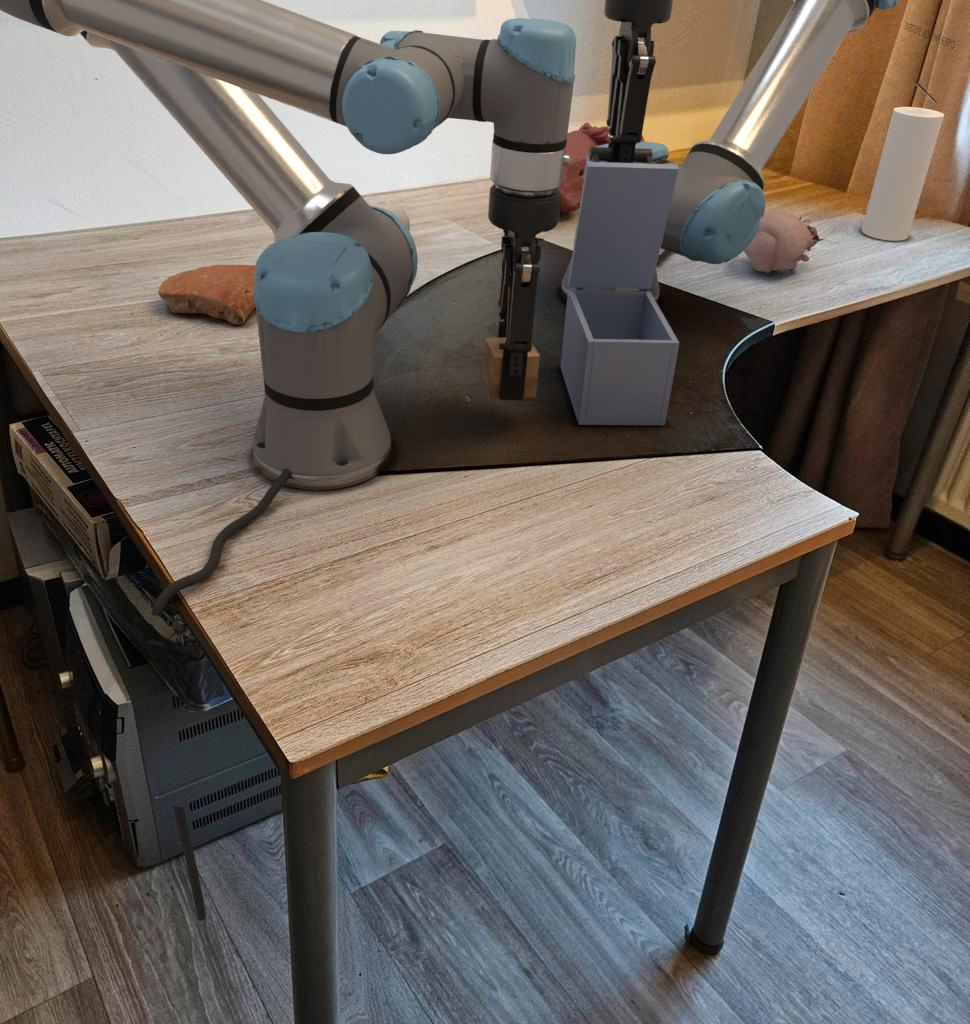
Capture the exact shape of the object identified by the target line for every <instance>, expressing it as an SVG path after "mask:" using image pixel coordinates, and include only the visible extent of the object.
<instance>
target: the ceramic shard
mask: <svg viewBox="0 0 970 1024" xmlns="http://www.w3.org/2000/svg"><path fill="white" fill-rule="evenodd" d="M255 265H256V264H255ZM255 265H254V264H212V265H209V266H208V265H207V266H201V267H197V268H195V269H189V270H185V271H182V272H179V273H176V274H173V275H170V276H168V277H167V278H166V279H165V280H164V281H163V282H162V283H160V286H159V288H158V290H157V294H158V295H159V297H160V298H161V299H162V300H163V301H164V302H166V304H167V307H168V308H169V309H170V311H171V312H172V313H174V314H204V315H205V314H206V315H208V316H210V317H212V318H216V319H222V320H224V321H227V322H229V323H231V324H234V325H243V324H244V323H245V321H246V320H247V318H248V317H249V316H250V315H251V313H252V312H253V311H254V310H255V309H256V306H255V301H254V294H253V290H254V285H255V284H254V282H255V276H254V271H255Z"/></svg>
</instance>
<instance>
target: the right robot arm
mask: <svg viewBox="0 0 970 1024" xmlns="http://www.w3.org/2000/svg"><path fill="white" fill-rule="evenodd" d="M792 1H793V4H792V6H791V7H790V9H789V10H788V12H787V13H786V15H785V17H784V18H783V20H782V21H781V23H780V24H779V27H778V28H777V30H776V31H775V33H774V35H773V36H772V38H771V40H770V41H769V43H768V44H767V46H766V47H765V49H764V51H763V53H762V54H761V56H760V57H759V59H758V61H757V62H756V63H755V65H754V67H753V68H752V70H751V71H750V74H749V75H748V77H747V79H745V81H744V83H743V85H742V86H741V88H740V90H739V91H738V93H737V95H736V96H735V98H734V100H733V101H732V103H731V104H730V105H729V108H728V109H727V110H726V112H725V114H724V115H723V117H722V119H721V120H720V122H719V124H718V125H717V127H716V128H715V130H714V132H713V133H712V135H711V136H710V139H709V140H703V141H699V142H696V143H695V144H693V146H692V147H691V148H690V150H689V151H688V153H687V155H686V156H685V157H684V159H683V161H682V163H680V162H675V161H670V160H668V158H669V157H670V154H669V148H668V146H667V145H665V144H664V143H660V142H653V141H645V142H641V139H642V136H643V130H644V124H645V123H644V122H645V119H646V118H645V117H646V111H647V105H648V99H649V93H650V88H651V81H652V76H653V73H654V70H655V65H656V64H657V59H656V55H654V52H655V51H654V50H655V41H654V40H652V26H653V25H654V24H659V25H660V24H664V23H667V22H669V21H670V19H671V16H672V10H673V2H674V0H604V9H603V13H604V16H605V18H606V19H608V20H611V21H615V22H620V26H619V31H618V35H615V36H614V38H613V39H612V41H611V47H612V48H611V68H610V80H609V81H610V82H609V94H608V108H607V118H606V127H609V135H608V136H610V137H609V143H608V144H604V145H600V146H597V147H606V148H612V150H611V159H610V161H600V162H612V163H644V164H646V163H645V162H633V161H634V154H635V148H637V149H652V160H653V163H654V164H677V166H678V168H679V170H678V175H677V179H676V183H675V188H674V192H673V196H672V201H671V205H670V209H669V214H668V218H667V222H666V227H665V231H664V235H663V240H662V244H661V248H660V250H661V249H662V250H663V251H662V252H661V253H659V257H658V261H657V265H658V264H659V263H660V262H662V261H663V260H664V259H665V258H666V257H667V256H669V254H670V253H674V254H676V255H679V256H681V257H684V258H686V259H689V260H690V261H692V262H702V263H705V264H711V265H722V264H723V263H728V262H730V261H732V260H734V259H736V258H738V256H740V255H741V254H742V253H743V252H744V250H745V249H746V248H747V246H748V245H749V244H750V243H751V241H752V240H753V238H754V237H755V235H756V233H757V231H758V229H759V227H760V225H761V222H760V219H761V218H762V217H763V216H764V214H765V213H766V212H765V211H766V196H765V193H764V189H765V185H766V184H765V179H764V176H763V170H764V169H765V167H766V166H767V164H768V163H769V161H770V160H771V157H773V154H774V152H775V151H776V150H777V148H778V146H779V144H780V143H781V141H782V139H783V138H784V136H785V135H786V134H787V132H788V130H789V128H790V126H791V125H792V123H793V122H794V120H795V118H796V117H797V116H798V114H799V112H800V110H801V109H802V107H803V105H805V102H806V101H807V99H808V97H809V96H810V94H811V93H812V91H813V89H814V88H815V86H816V85H817V83H818V81H819V80H820V78H821V76H822V75H823V73H824V71H825V70H826V68H827V67H828V65H829V64H830V61H831V60H832V59H833V57H834V55H835V53H836V52H837V50H838V49H839V47H840V45H841V44H842V42H843V41H844V39H845V37H846V36H847V35H849V34H852V33H856V32H858V31H860V30H862V29H863V28H864V27H865V25H866V24H867V22H868V20H869V19H870V18H871V16H872V14H873V13H874V11H875V10H876V9H877V10H878V9H879V10H880V11H886V10H890V9H894V8H895V7H896V6H897V5H898V4H899V3H900V1H901V0H792ZM587 162H592V161H590V160H589V154H588V156H587V161H586V163H587ZM585 169H586V167H585ZM584 176H585V173H584V175H583V182H584ZM571 261H572V258H571V259H570V262H569V264H568V266H567V269H566V270H565V273H564V275H563V278H562V280H561V289H560V294H561V298H563V300H564V301H565V302H567V296H568V290H614V291H650V292H651V294H652V296H653V298H654V299H655V301H656V303H657V304H659V297H660V284H659V278H658V272H657V269H656V270H655V274H654V279H653V283H652V287H651V289H637V288H585V287H569V284H568V281H569V274H570V267H571Z"/></svg>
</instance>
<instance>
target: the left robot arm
mask: <svg viewBox="0 0 970 1024" xmlns="http://www.w3.org/2000/svg"><path fill="white" fill-rule="evenodd" d="M0 11H1V12H3V13H5V14H7V15H10V16H12V17H13V18H16V19H19V20H20V21H23V22H26V23H28V24H31V25H34V26H37V27H40V28H43V29H46V30H48V31H51V32H54V33H57V34H59V35H61V36H66V37H74V36H77V35H79V34H80V35H81V36H82V37H83V39H84V40H85V41H86V42H87V43H88V45H90V46H91V47H93V48H98V49H106V50H107V49H108V50H112V51H114V52H115V53H116V54H117V56H118V57H119V58H121V60H122V61H123V62H124V64H126V66H127V67H128V68H129V69H130V70H131V71H132V73H133V74H134V75H135V76H136V77H137V78H138V79H139V81H140V82H142V84H143V85H144V86H145V87H146V89H147V90H148V91H149V92H151V94H152V95H153V96H154V97H155V99H156V100H157V101H158V102H159V104H160V105H162V107H163V108H164V109H165V110H166V111H167V112H168V113H169V115H170V116H171V117H172V118H173V119H174V120H175V122H177V124H178V125H179V126H180V127H181V128H182V129H183V131H185V133H186V134H187V135H188V136H189V137H190V138H191V140H192V141H193V142H194V143H195V144H196V145H197V147H199V149H200V150H201V151H202V152H203V153H204V154H205V156H206V157H207V158H208V159H209V160H210V162H212V164H213V165H214V167H216V168H217V169H218V170H219V172H220V173H221V174H222V175H223V176H224V177H225V178H226V179H227V181H228V182H229V183H230V184H231V185H232V186H233V187H234V189H235V190H236V191H237V192H238V193H239V195H241V196H242V198H243V200H245V201H246V202H247V203H248V205H249V206H250V207H251V208H252V209H253V210H254V211H255V213H256V214H257V215H258V216H259V217H260V218H261V220H262V221H263V222H264V223H265V224H266V225H267V226H268V228H269V229H270V230H271V231H272V233H273V236H274V242H273V243H271V244H270V245H269V246H267V247H266V248H265V249H264V250H263V251H262V252H261V253H260V255H259V256H258V258H257V260H256V261H255V271H254V276H255V282H254V284H255V285H254V290H253V294H254V301H255V306H256V307H255V310H256V311H255V312H256V320H257V330H258V340H259V349H260V359H261V369H262V379H263V388H264V390H263V391H264V396H263V400H262V404H261V408H260V412H259V415H258V419H257V423H256V427H255V430H254V434H253V439H252V455H253V460H254V464H255V467H256V468H257V470H258V471H259V472H260V473H261V474H262V475H263V476H265V477H266V478H268V479H269V480H271V481H273V483H272V485H271V486H270V487H269V488H268V489H267V491H266V492H265V494H264V495H263V497H262V498H261V500H259V502H258V503H257V504H256V506H254V507H253V508H252V509H251V510H250V511H248V512H246V513H245V514H244V515H241V516H240V517H238V518H237V519H235V520H233V521H232V522H230V523H228V524H227V525H226V526H225V527H224V528H223V529H222V530H221V531H220V532H219V533H218V534H217V536H216V537H215V538H214V540H213V542H212V545H211V551H210V554H209V558H208V560H207V562H206V564H204V566H203V567H202V569H199V570H197V571H196V572H193V573H192V574H189V575H185V576H184V577H182V578H181V577H180V578H178V579H177V580H175V581H173V582H171V583H170V584H169V585H167V586H166V587H165V588H164V589H163V590H162V591H161V592H160V594H159V595H158V597H156V600H155V602H154V604H153V606H152V608H151V612H150V614H151V616H155V617H156V616H160V615H161V614H163V612H164V611H165V608H166V606H167V604H168V603H169V601H170V600H171V599H172V597H174V595H176V594H177V593H179V592H181V591H183V590H186V589H188V588H190V587H193V586H195V585H198V584H200V583H202V582H204V581H205V580H207V579H208V578H209V577H210V576H211V575H213V573H214V572H215V571H216V569H217V568H218V566H219V564H220V561H221V558H222V553H223V549H224V545H225V543H226V542H227V541H228V539H229V538H230V537H231V536H232V535H233V534H235V533H236V532H237V531H239V530H241V529H242V528H244V527H246V526H248V525H249V524H251V523H252V522H253V521H255V520H256V519H258V518H259V517H260V516H261V515H262V514H264V512H265V511H266V510H267V509H268V507H269V506H270V505H271V504H272V502H273V501H274V499H275V497H276V496H277V495H278V493H279V492H280V491H281V490H282V488H283V487H284V486H286V487H290V488H295V489H301V490H312V491H314V490H315V491H323V490H327V491H328V490H337V489H342V488H348V487H351V486H355V485H358V484H361V483H363V482H366V481H368V480H370V479H373V478H374V477H375V476H377V475H378V474H380V473H381V472H382V471H383V470H384V469H385V468H386V467H387V466H388V464H389V463H390V461H391V458H392V436H391V432H390V430H389V427H388V424H387V422H386V419H385V417H384V413H383V411H382V408H381V406H380V403H379V400H378V398H377V395H376V393H375V385H374V338H375V336H376V335H377V334H378V332H379V330H380V329H381V328H383V326H384V325H385V323H386V321H387V320H388V319H389V318H390V316H391V315H392V314H393V313H394V311H396V310H397V309H398V308H399V307H400V306H402V305H403V303H405V301H406V299H407V297H408V295H409V294H410V291H411V289H412V286H413V284H414V282H415V280H416V277H417V273H418V271H417V270H418V265H419V264H418V262H419V260H418V257H419V256H418V251H417V247H416V243H415V239H414V238H413V236H412V233H411V231H410V230H408V229H407V227H406V226H405V224H404V223H403V222H402V221H401V220H400V219H399V218H398V217H397V216H395V215H394V214H393V213H391V212H389V211H390V210H388V209H386V208H383V207H378V206H374V205H369V203H368V202H367V201H366V200H365V198H364V197H363V196H362V195H361V194H360V193H359V191H358V190H357V189H356V188H355V186H354V185H353V184H351V183H344V182H337V181H334V180H331V179H330V178H329V176H328V175H327V174H326V173H325V172H324V171H323V169H322V168H321V167H320V166H319V165H318V163H317V162H316V161H315V160H314V159H313V158H312V156H311V155H310V154H309V153H308V152H307V150H306V149H305V148H304V147H303V146H302V144H301V143H300V142H299V141H298V140H297V138H296V137H295V136H294V135H293V133H292V132H291V131H290V130H289V129H288V128H287V126H286V125H285V124H284V123H283V122H282V120H281V119H280V118H279V117H278V116H277V114H276V113H275V112H274V111H273V110H272V109H271V107H270V106H269V105H268V104H267V103H266V102H265V101H264V99H263V98H262V97H264V98H266V99H267V98H268V99H270V100H273V101H275V102H279V103H281V104H283V105H287V106H289V107H292V108H295V109H297V110H300V111H303V112H305V113H308V114H311V115H315V116H317V117H320V118H322V119H325V120H327V121H331V122H333V123H336V124H338V125H340V126H344V127H346V128H347V130H348V131H349V133H350V134H351V135H352V136H353V138H354V139H355V140H356V141H357V142H358V143H359V144H360V145H361V146H362V147H364V148H365V149H367V150H368V151H370V152H373V153H376V154H380V155H396V154H399V153H402V152H405V151H407V150H410V149H411V148H413V147H415V146H418V145H419V144H421V143H423V142H424V141H426V140H427V139H428V137H429V136H430V135H431V134H432V133H433V131H434V130H435V129H436V128H437V127H438V126H440V125H442V124H443V123H444V122H445V121H446V120H447V119H455V120H467V121H474V122H479V123H480V122H481V123H486V122H487V123H492V124H493V134H492V135H493V136H492V141H491V142H492V143H491V155H490V157H491V158H490V171H489V179H490V181H491V182H492V183H493V184H492V186H490V188H489V194H488V195H489V196H488V211H487V218H488V220H489V222H490V223H491V224H492V225H493V226H494V227H496V228H498V229H500V230H502V233H503V236H501V241H500V248H501V260H500V261H501V262H500V266H501V270H500V282H499V295H498V296H499V297H498V301H497V306H498V308H499V311H498V317H499V320H501V321H498V329H497V338H504V337H506V342H505V343H499V349H503V359H502V371H501V384H500V396H499V397H500V399H499V400H500V401H524V399H525V397H524V388H525V377H526V367H527V357H528V352H530V351H531V349H532V344H533V341H532V340H533V332H534V319H535V311H536V308H535V307H536V299H537V289H538V288H537V287H538V281H539V280H538V279H539V274H540V272H541V267H540V264H539V262H540V261H541V256H542V247H541V245H539V237H537V235H538V234H540V233H546V232H549V231H552V230H554V229H555V228H556V227H557V226H558V224H559V221H560V220H559V219H560V213H561V212H560V202H561V193H560V192H559V190H558V189H557V188H559V187H560V186H561V185H562V179H563V168H562V166H563V165H567V164H569V163H570V156H569V155H565V147H566V144H567V135H568V133H569V126H570V117H571V111H572V110H571V109H572V103H573V102H572V100H573V93H574V85H575V79H576V74H575V63H576V50H577V49H576V48H577V47H576V46H577V37H576V33H575V31H574V30H573V28H572V27H570V25H568V24H566V23H563V22H561V21H556V20H550V19H542V18H527V17H517V18H509V19H506V20H505V21H503V22H502V24H501V25H500V30H499V34H498V35H497V38H492V39H481V38H480V39H479V38H474V37H473V38H472V37H463V36H454V35H449V34H448V35H447V34H440V33H439V34H438V33H431V32H424V30H418V29H415V30H411V31H408V30H406V31H404V30H390V31H387V32H386V33H384V34H383V35H382V37H381V38H380V41H379V43H378V42H375V41H373V40H370V39H366V38H363V37H360V36H358V35H357V34H354V33H352V32H349V31H346V30H344V29H341V28H339V27H335V26H333V25H330V24H327V23H325V22H322V21H319V20H317V19H313V18H311V17H308V16H306V15H303V14H301V13H298V12H295V11H293V10H289V9H287V8H285V7H281V6H278V5H276V4H273V3H270V2H268V1H265V0H0ZM261 96H262V97H261ZM531 343H532V344H531ZM172 809H173V814H174V818H175V819H174V820H175V822H176V823H175V824H176V827H177V831H178V835H179V839H180V844H181V848H182V853H183V858H184V861H185V866H186V870H187V874H188V879H189V885H190V888H191V893H192V898H193V903H194V908H195V913H196V918H197V920H198V921H199V922H203V921H205V919H206V918H207V912H206V907H205V901H204V896H203V891H202V886H201V881H200V875H199V871H198V866H197V861H196V857H195V853H194V848H193V844H192V839H191V834H190V831H189V826H188V825H189V824H188V821H187V817H186V812H185V808H184V806H176V805H172Z"/></svg>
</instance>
